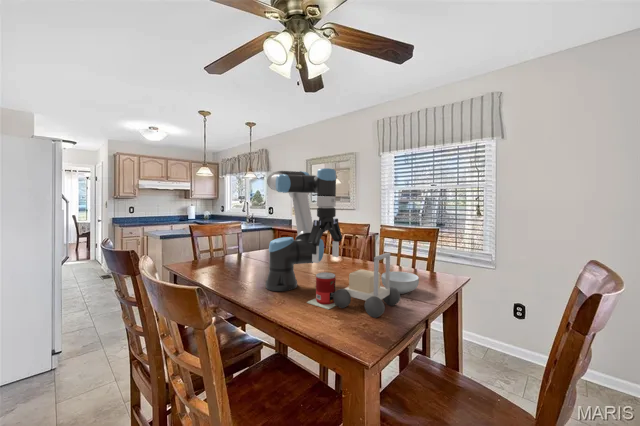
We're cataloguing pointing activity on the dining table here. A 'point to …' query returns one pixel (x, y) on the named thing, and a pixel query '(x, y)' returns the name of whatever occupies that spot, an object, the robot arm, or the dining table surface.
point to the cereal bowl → (402, 281)
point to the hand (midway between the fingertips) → (325, 259)
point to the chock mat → (326, 306)
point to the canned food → (325, 287)
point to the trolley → (369, 289)
